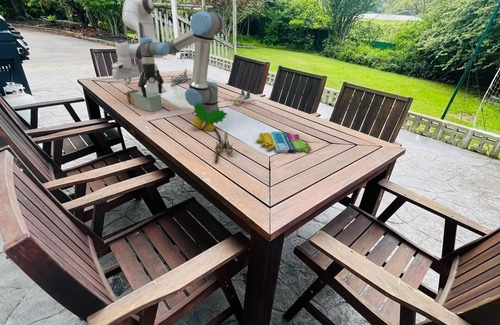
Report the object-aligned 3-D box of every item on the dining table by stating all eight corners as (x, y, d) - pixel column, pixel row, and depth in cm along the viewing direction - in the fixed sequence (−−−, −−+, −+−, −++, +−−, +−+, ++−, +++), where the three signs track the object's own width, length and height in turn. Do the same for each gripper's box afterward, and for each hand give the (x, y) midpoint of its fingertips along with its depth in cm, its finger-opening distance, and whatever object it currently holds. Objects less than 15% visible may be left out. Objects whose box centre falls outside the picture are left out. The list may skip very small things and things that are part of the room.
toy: (261, 91, 228) (254, 99, 202) (261, 99, 231) (253, 108, 205) (231, 87, 233) (220, 95, 207) (230, 95, 236) (219, 104, 210)
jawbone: (234, 135, 144) (233, 125, 135) (233, 160, 138) (232, 151, 129) (217, 135, 144) (216, 125, 135) (216, 160, 138) (214, 150, 129)
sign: (313, 150, 142) (258, 149, 139) (312, 153, 143) (258, 152, 140) (301, 132, 164) (254, 130, 161) (301, 134, 165) (254, 133, 162)
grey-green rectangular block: (134, 106, 192) (132, 92, 187) (146, 103, 200) (144, 90, 195) (151, 111, 185) (149, 97, 180) (162, 108, 192) (160, 94, 187)
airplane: (161, 78, 276) (160, 68, 271) (190, 77, 289) (190, 67, 284) (170, 88, 248) (168, 77, 243) (201, 85, 261) (201, 75, 256)
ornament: (218, 133, 171) (224, 110, 169) (221, 134, 163) (227, 111, 161) (186, 125, 162) (192, 101, 160) (189, 126, 155) (195, 101, 153)
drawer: (122, 101, 198) (120, 90, 194) (132, 99, 205) (131, 88, 201) (142, 107, 189) (141, 96, 185) (152, 105, 195) (151, 93, 191)
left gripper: (134, 62, 196) (137, 81, 203) (109, 65, 181) (113, 85, 187) (140, 63, 193) (142, 82, 200) (115, 66, 178) (118, 87, 185)
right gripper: (159, 60, 185) (162, 91, 195) (128, 64, 166) (134, 97, 176) (166, 62, 182) (170, 92, 192) (136, 66, 163) (141, 99, 173)
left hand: (128, 84), depth 194 cm, fingers closed
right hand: (152, 95), depth 184 cm, fingers open, 13 cm apart
